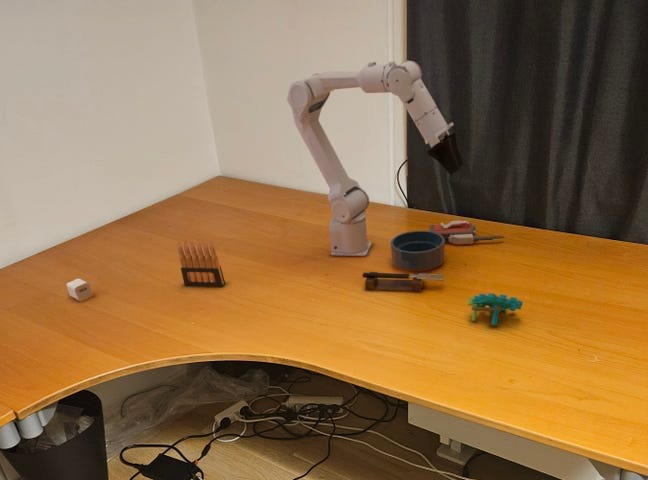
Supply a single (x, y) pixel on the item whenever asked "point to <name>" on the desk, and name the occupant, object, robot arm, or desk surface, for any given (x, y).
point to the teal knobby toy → (493, 305)
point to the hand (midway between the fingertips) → (457, 169)
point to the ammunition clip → (200, 266)
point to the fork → (405, 276)
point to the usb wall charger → (79, 289)
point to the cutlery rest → (393, 284)
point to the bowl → (417, 250)
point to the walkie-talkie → (459, 232)
